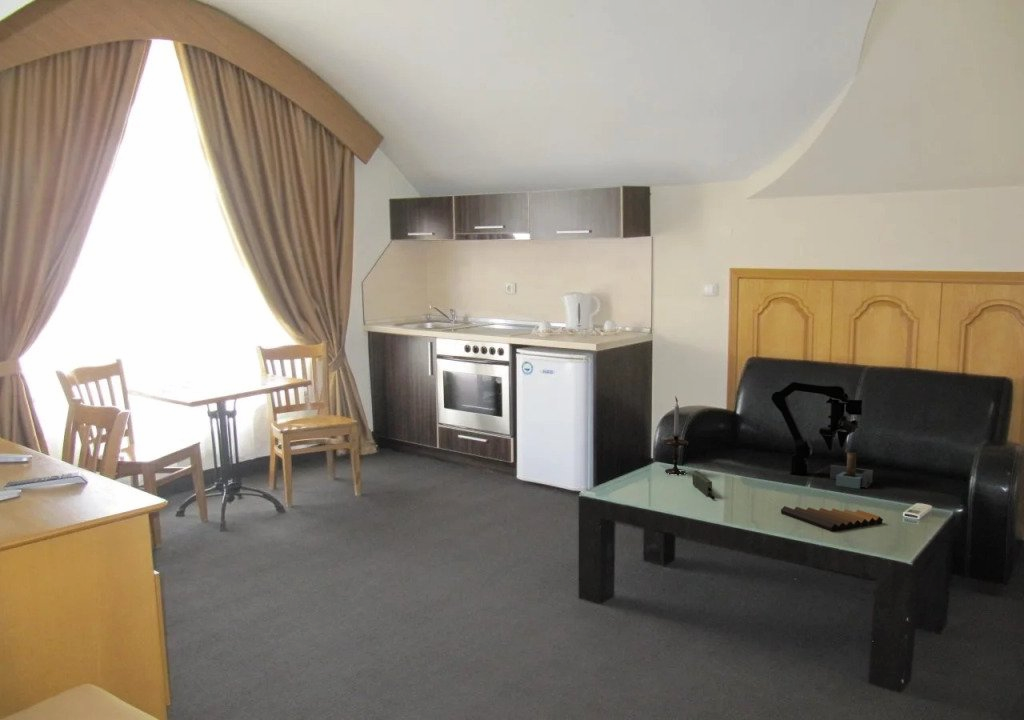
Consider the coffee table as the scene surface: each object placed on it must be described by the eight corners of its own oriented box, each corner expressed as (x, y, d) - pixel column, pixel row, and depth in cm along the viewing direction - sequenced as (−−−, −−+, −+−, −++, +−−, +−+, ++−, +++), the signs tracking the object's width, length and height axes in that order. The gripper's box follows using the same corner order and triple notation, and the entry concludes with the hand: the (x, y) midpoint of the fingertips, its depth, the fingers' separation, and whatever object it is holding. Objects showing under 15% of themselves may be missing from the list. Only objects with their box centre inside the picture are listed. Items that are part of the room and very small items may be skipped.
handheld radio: (699, 485, 369) (718, 500, 344) (692, 486, 368) (709, 501, 344) (699, 470, 368) (717, 484, 343) (691, 470, 368) (709, 484, 343)
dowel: (846, 483, 369) (847, 453, 368) (845, 482, 372) (846, 452, 371) (855, 484, 368) (856, 454, 367) (854, 482, 371) (855, 452, 370)
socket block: (835, 486, 369) (836, 475, 369) (842, 481, 377) (842, 471, 376) (859, 489, 363) (859, 479, 363) (865, 485, 371) (865, 474, 371)
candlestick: (659, 473, 389) (660, 396, 386) (669, 469, 398) (670, 393, 395) (681, 476, 383) (683, 398, 380) (691, 472, 392) (693, 395, 389)
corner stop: (825, 482, 374) (825, 468, 373) (831, 478, 382) (831, 464, 381) (866, 488, 364) (867, 474, 363) (872, 483, 372) (872, 470, 371)
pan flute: (780, 515, 325) (830, 533, 302) (780, 506, 325) (831, 524, 302) (830, 508, 335) (882, 525, 313) (830, 499, 335) (883, 515, 313)
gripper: (842, 418, 368) (841, 454, 369) (865, 413, 379) (864, 448, 381) (819, 414, 376) (817, 450, 378) (842, 410, 388) (841, 445, 389)
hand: (836, 448), depth 381 cm, fingers open, 9 cm apart
